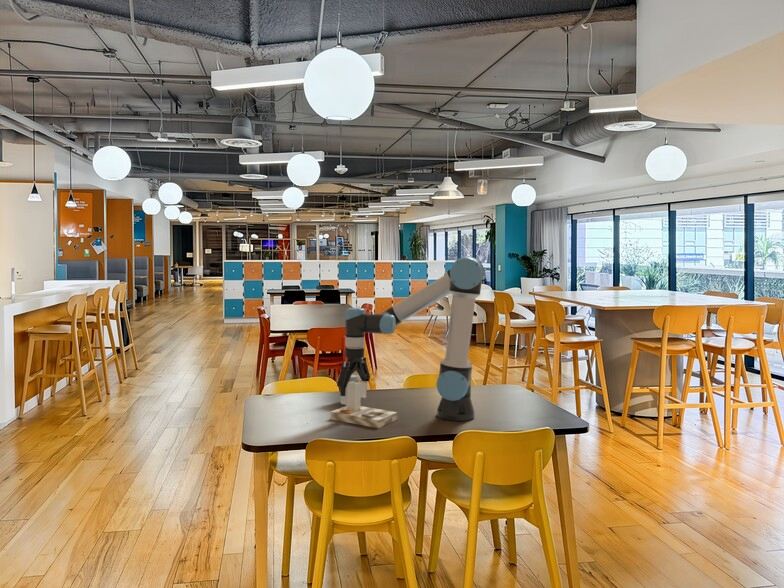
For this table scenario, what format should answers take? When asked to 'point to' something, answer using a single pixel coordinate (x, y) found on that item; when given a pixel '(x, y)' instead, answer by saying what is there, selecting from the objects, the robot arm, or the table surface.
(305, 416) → the table surface
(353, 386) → the plug
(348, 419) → the socket plate
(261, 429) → the table surface
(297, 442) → the table surface
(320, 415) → the table surface
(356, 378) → the disposable coffee cup
